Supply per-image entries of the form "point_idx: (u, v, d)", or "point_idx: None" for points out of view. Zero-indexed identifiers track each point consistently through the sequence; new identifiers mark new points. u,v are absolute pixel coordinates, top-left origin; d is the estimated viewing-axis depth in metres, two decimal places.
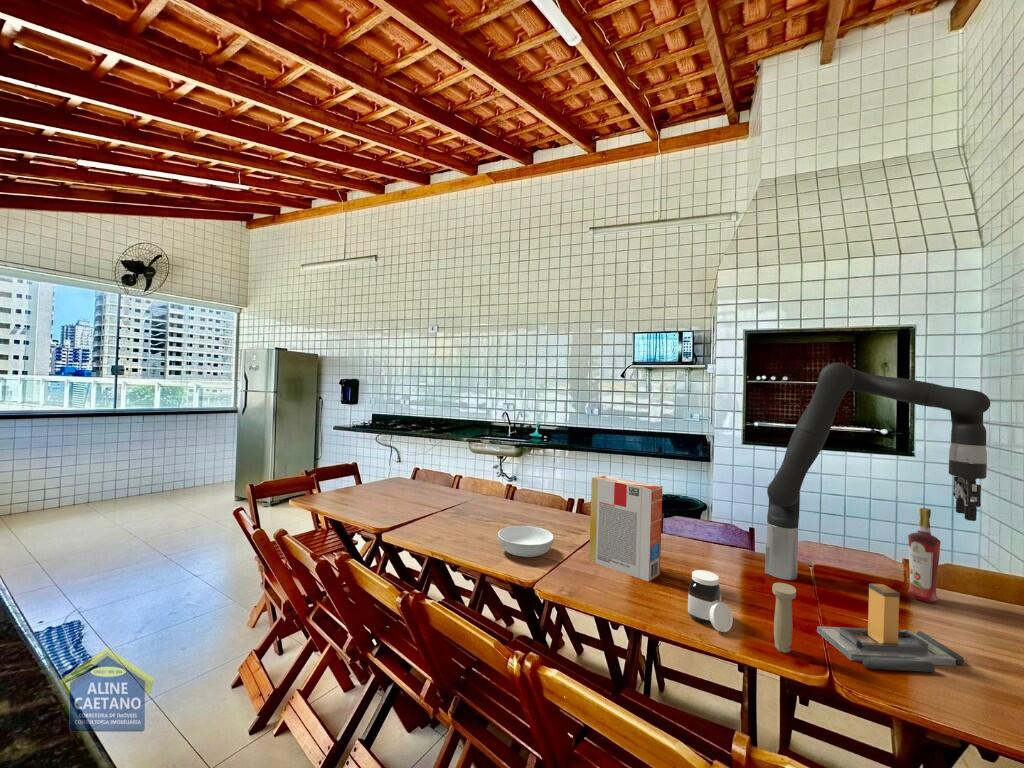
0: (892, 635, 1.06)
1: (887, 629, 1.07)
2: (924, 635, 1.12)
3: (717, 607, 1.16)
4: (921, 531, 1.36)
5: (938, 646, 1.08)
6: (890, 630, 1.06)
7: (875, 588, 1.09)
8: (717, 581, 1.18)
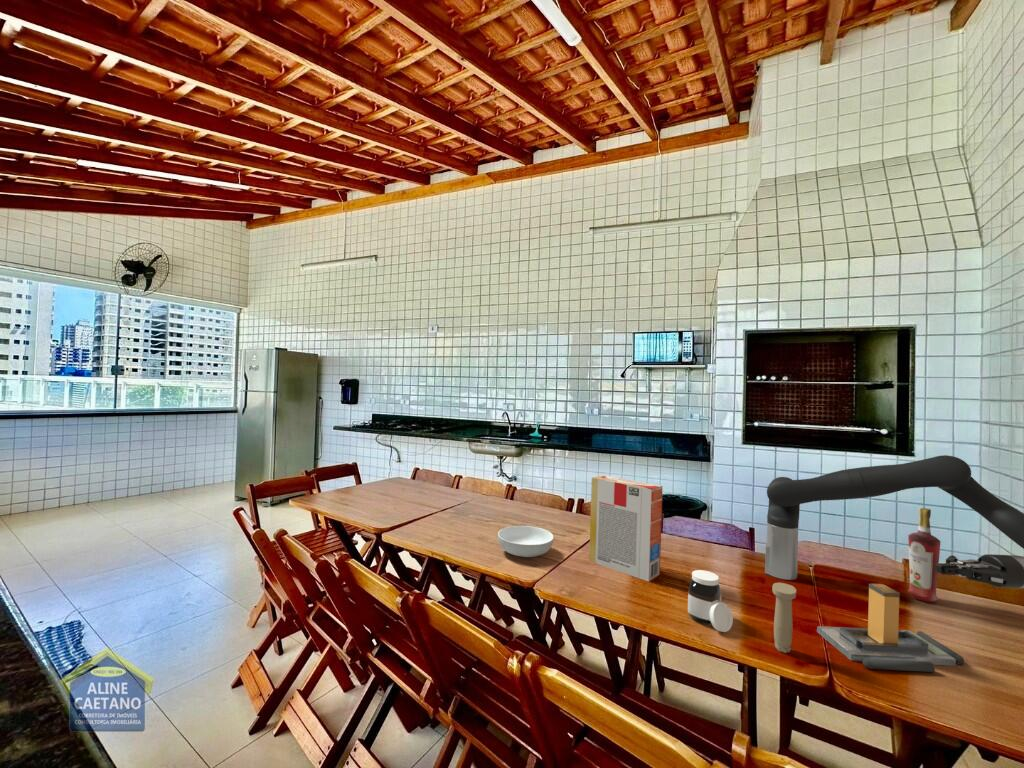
0: (892, 635, 1.06)
1: (887, 629, 1.07)
2: (924, 635, 1.12)
3: (717, 607, 1.16)
4: (921, 531, 1.36)
5: (938, 646, 1.08)
6: (890, 630, 1.06)
7: (875, 588, 1.09)
8: (717, 581, 1.18)
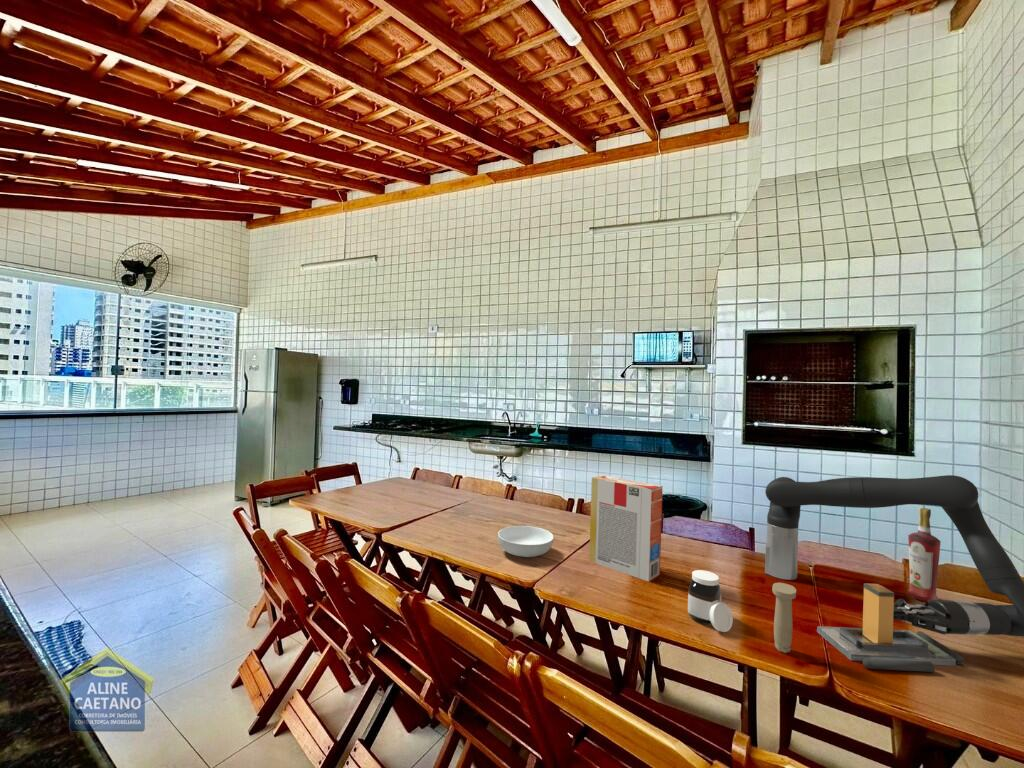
0: (887, 635, 1.07)
1: (882, 628, 1.07)
2: (924, 635, 1.12)
3: (717, 607, 1.16)
4: (921, 531, 1.36)
5: (938, 646, 1.08)
6: (884, 630, 1.07)
7: (870, 588, 1.09)
8: (717, 581, 1.18)
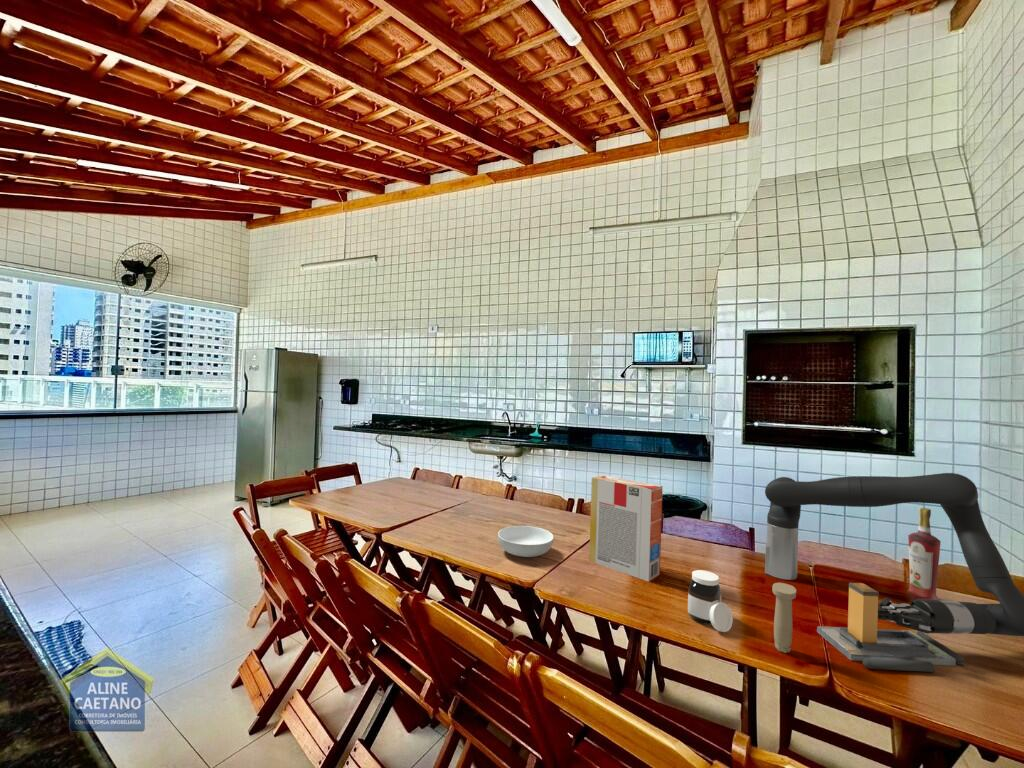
0: (871, 634, 1.07)
1: (866, 628, 1.07)
2: (924, 635, 1.12)
3: (717, 607, 1.16)
4: (921, 531, 1.36)
5: (938, 646, 1.08)
6: (869, 629, 1.07)
7: (855, 587, 1.09)
8: (717, 581, 1.18)
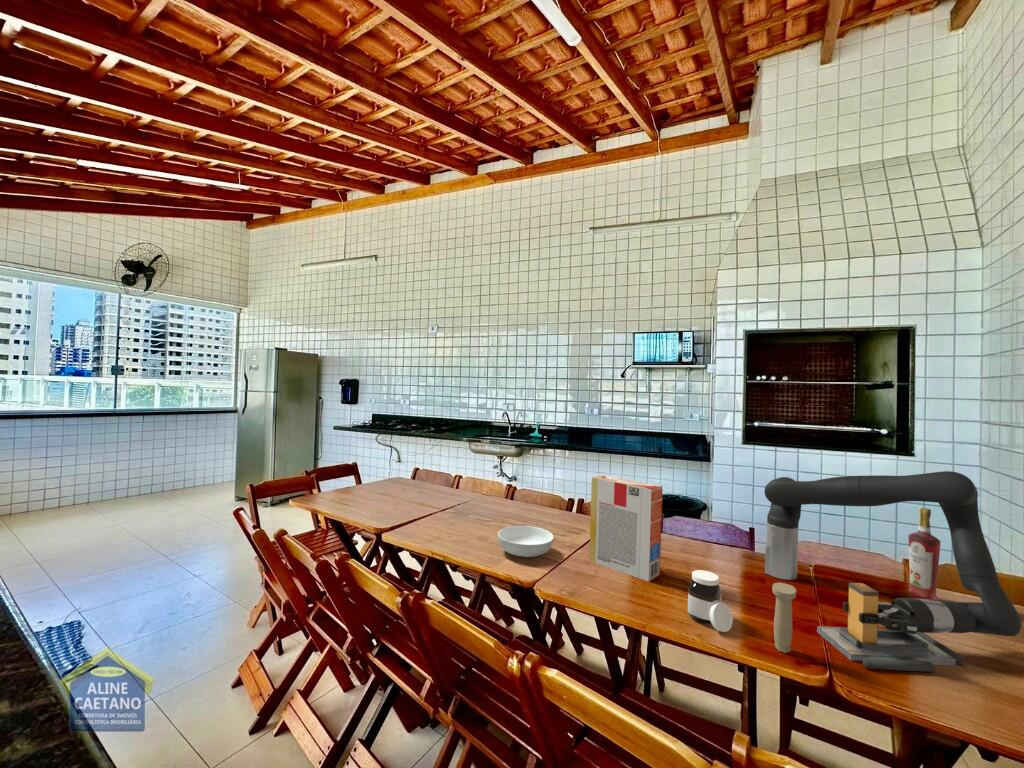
0: (871, 634, 1.07)
1: (866, 628, 1.07)
2: (924, 635, 1.12)
3: (717, 607, 1.16)
4: (921, 531, 1.36)
5: (938, 646, 1.08)
6: (869, 629, 1.07)
7: (855, 587, 1.09)
8: (717, 581, 1.18)
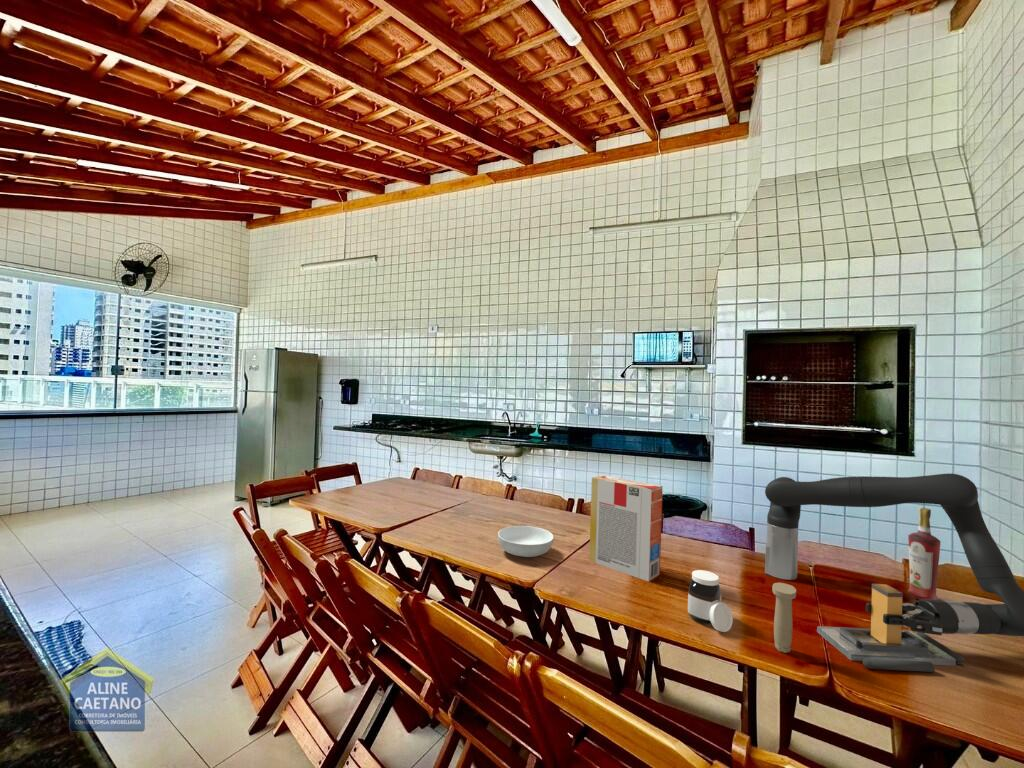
0: (895, 635, 1.06)
1: (890, 629, 1.06)
2: (924, 635, 1.12)
3: (717, 607, 1.16)
4: (921, 531, 1.36)
5: (938, 646, 1.08)
6: (893, 630, 1.06)
7: (878, 588, 1.09)
8: (717, 581, 1.18)
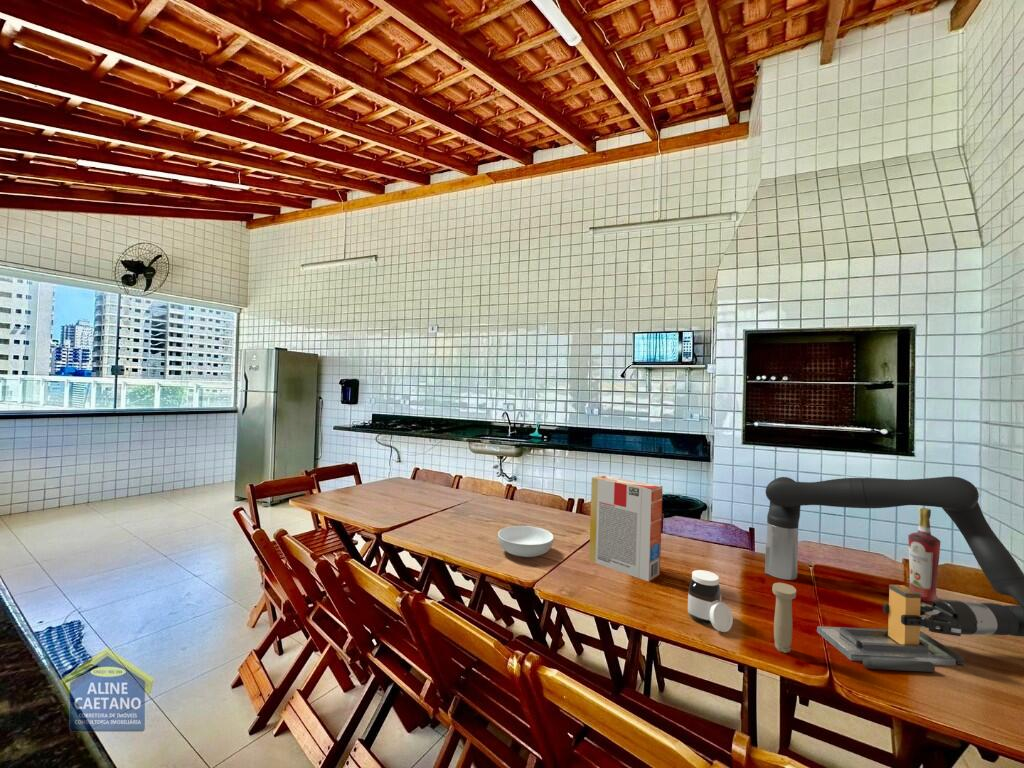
0: (913, 636, 1.06)
1: (908, 630, 1.06)
2: (924, 635, 1.12)
3: (717, 607, 1.16)
4: (921, 531, 1.36)
5: (938, 646, 1.08)
6: (911, 631, 1.06)
7: (896, 589, 1.09)
8: (717, 581, 1.18)
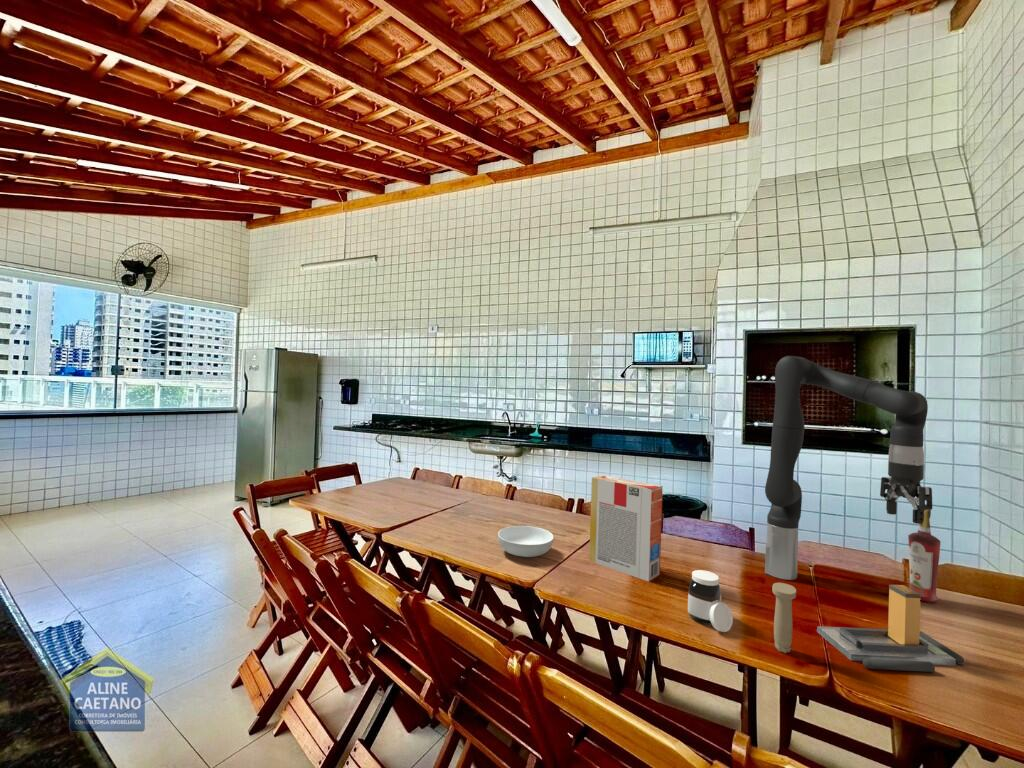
0: (913, 636, 1.06)
1: (908, 630, 1.06)
2: (924, 635, 1.12)
3: (717, 607, 1.16)
4: (921, 531, 1.36)
5: (938, 646, 1.08)
6: (911, 631, 1.06)
7: (896, 589, 1.09)
8: (717, 581, 1.18)
